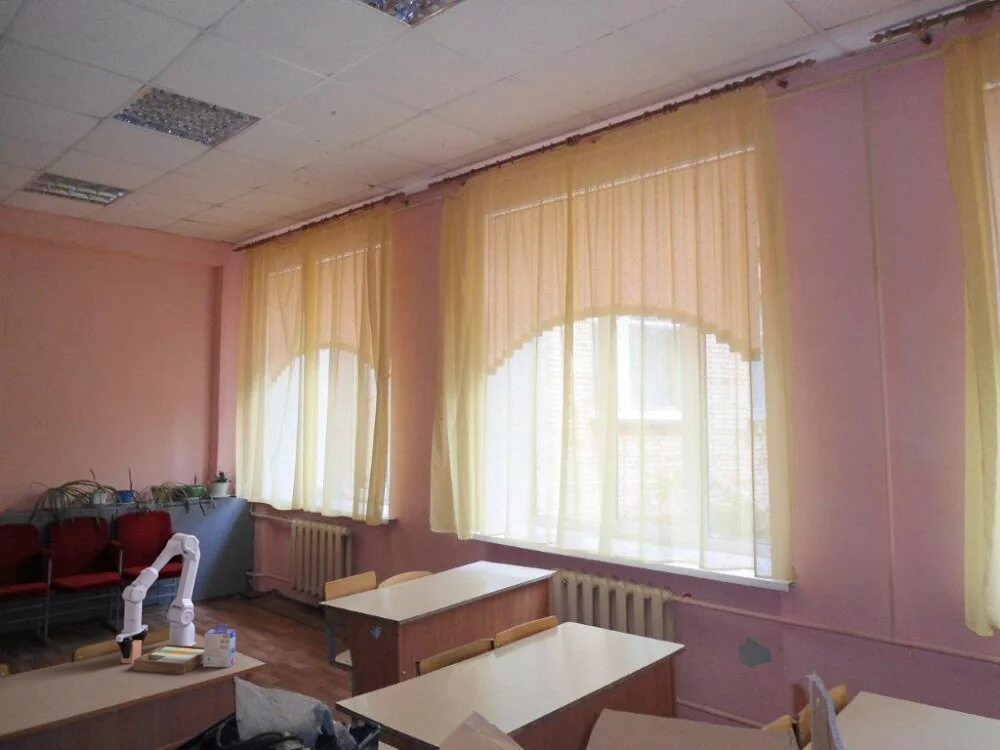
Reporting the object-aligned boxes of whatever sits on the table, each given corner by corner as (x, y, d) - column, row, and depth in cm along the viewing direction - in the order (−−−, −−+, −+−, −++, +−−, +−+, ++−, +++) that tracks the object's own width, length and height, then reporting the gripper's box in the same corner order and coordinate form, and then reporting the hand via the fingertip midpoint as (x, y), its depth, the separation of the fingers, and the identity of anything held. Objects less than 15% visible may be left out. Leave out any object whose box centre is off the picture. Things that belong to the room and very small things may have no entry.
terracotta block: (129, 658, 263) (130, 639, 263) (140, 659, 262) (141, 640, 262) (121, 662, 258) (122, 643, 258) (132, 663, 257) (133, 644, 258)
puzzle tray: (165, 653, 268) (165, 644, 269) (212, 657, 265) (213, 647, 265) (133, 669, 251) (133, 659, 251) (183, 674, 247) (183, 664, 247)
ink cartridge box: (235, 662, 259) (237, 622, 260) (229, 667, 254) (230, 627, 255) (209, 661, 260) (210, 622, 261) (202, 667, 254) (204, 626, 255)
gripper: (136, 612, 269) (135, 648, 268) (109, 623, 254) (107, 661, 254) (153, 613, 267) (151, 649, 267) (126, 624, 253) (125, 662, 252)
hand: (131, 655), depth 260 cm, fingers open, 5 cm apart
